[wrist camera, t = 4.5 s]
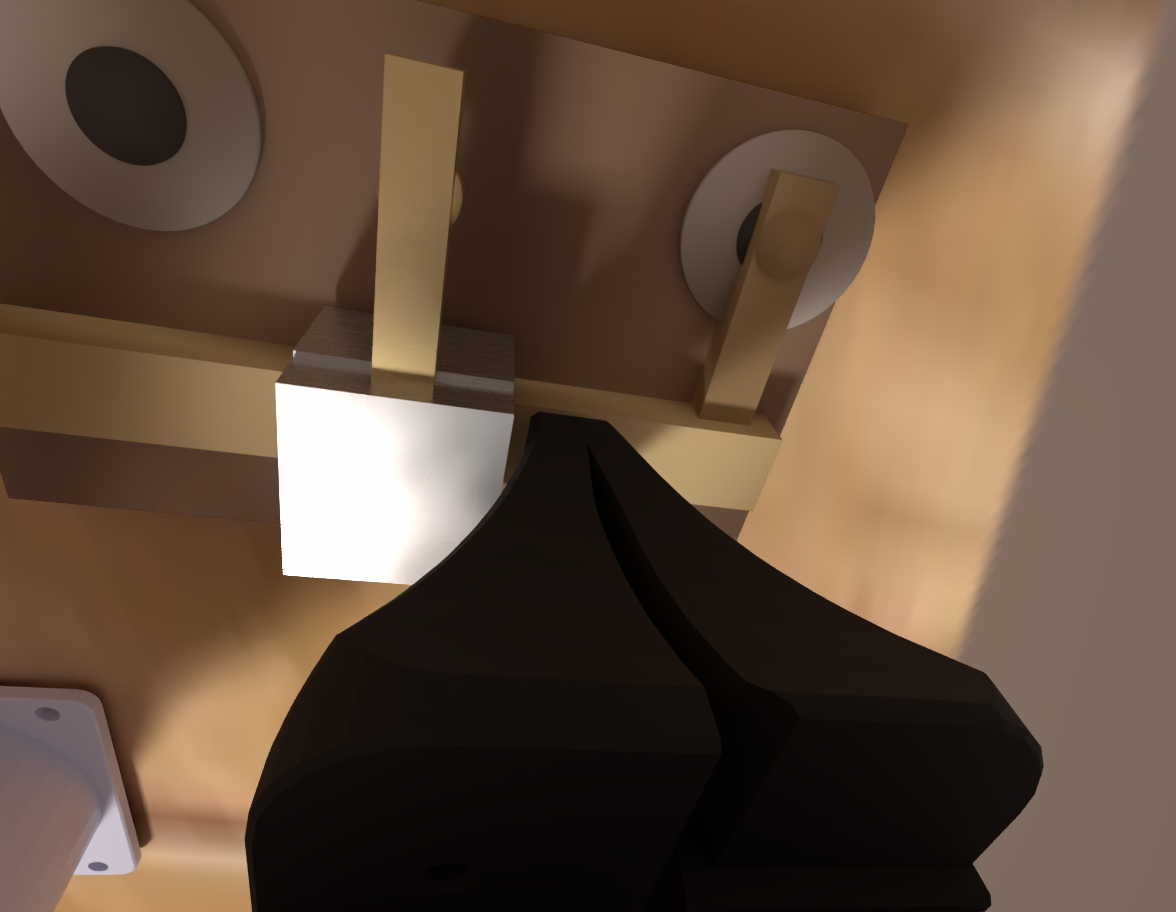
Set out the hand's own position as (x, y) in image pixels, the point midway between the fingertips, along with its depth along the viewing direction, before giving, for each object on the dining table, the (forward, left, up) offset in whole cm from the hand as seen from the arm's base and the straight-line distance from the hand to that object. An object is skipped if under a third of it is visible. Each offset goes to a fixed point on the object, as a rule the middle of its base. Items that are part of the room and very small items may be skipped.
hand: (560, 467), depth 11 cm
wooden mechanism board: (-3, +2, -3) cm, 4 cm away
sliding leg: (-2, +2, -1) cm, 3 cm away
